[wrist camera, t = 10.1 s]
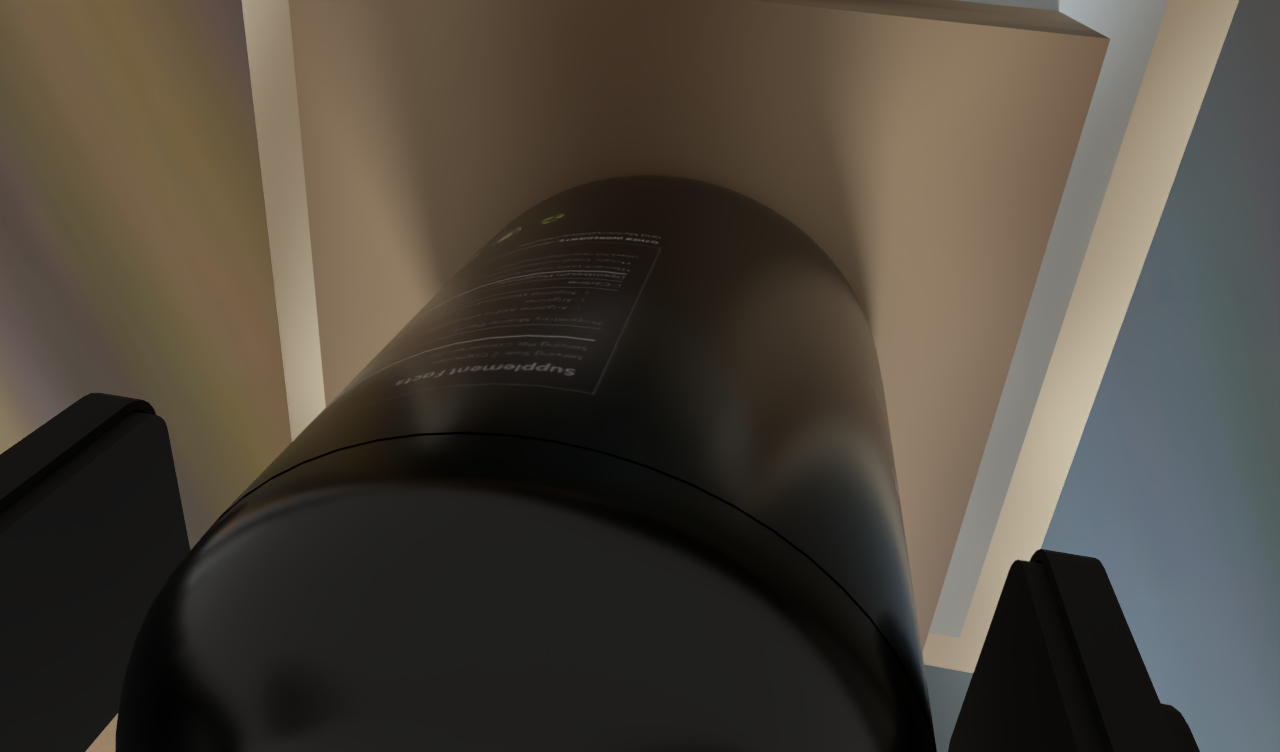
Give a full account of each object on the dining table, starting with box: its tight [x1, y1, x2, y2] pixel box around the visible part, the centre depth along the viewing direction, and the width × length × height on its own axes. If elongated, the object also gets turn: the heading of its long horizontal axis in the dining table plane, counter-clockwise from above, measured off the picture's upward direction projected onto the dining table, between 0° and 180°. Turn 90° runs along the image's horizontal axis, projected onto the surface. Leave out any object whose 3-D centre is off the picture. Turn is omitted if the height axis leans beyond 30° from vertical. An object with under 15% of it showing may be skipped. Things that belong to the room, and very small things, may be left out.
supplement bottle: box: [116, 175, 937, 752], centre depth 10 cm, size 7×7×12 cm
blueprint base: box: [242, 0, 1239, 673], centre depth 17 cm, size 16×16×4 cm
